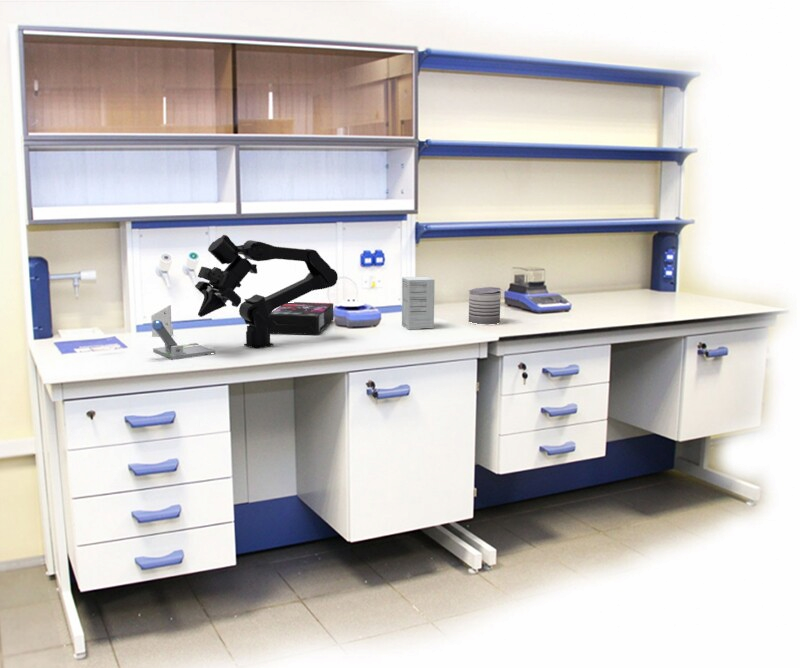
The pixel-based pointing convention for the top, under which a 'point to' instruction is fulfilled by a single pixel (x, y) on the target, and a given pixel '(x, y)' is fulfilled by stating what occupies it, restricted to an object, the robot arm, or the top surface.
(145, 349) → the top surface
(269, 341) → the robot arm
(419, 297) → the supplement box
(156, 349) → the switch panel
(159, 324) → the lever
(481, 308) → the can
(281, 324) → the graphics card box
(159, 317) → the grey plate
